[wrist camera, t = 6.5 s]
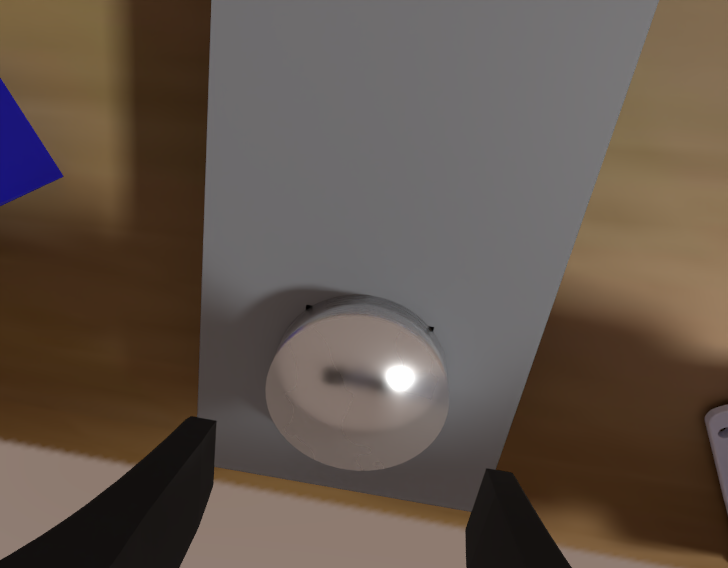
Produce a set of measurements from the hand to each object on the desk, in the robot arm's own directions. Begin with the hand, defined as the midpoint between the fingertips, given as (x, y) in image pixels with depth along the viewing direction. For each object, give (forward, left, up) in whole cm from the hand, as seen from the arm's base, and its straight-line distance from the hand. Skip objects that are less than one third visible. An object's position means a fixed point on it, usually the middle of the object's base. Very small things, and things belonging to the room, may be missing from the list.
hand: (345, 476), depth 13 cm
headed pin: (0, 0, -8) cm, 8 cm away
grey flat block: (+3, -2, -8) cm, 9 cm away
